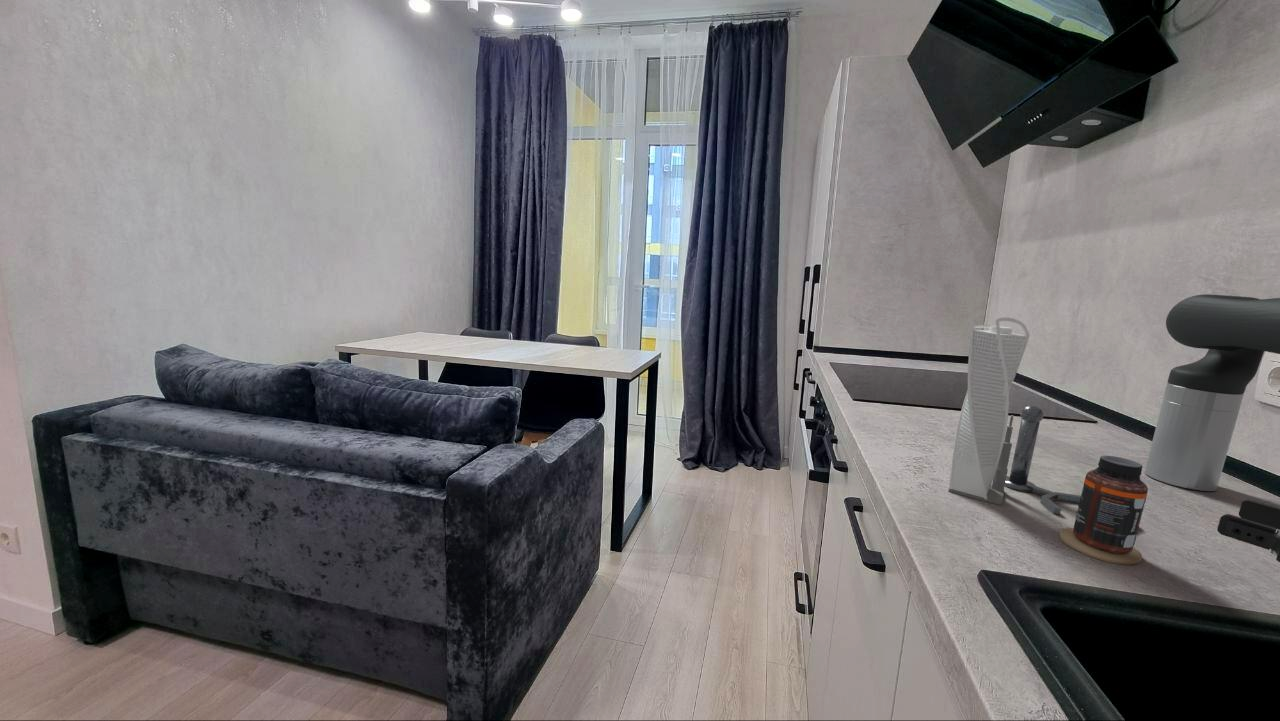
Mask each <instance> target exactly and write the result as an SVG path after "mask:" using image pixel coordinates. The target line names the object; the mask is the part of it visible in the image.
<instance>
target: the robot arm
mask: <svg viewBox="0 0 1280 721" xmlns="http://www.w3.org/2000/svg"><path fill="white" fill-rule="evenodd" d="M1165 325H1166V326H1165V328H1166V329H1167V333H1168V334H1169V336H1170V337H1171V338H1173V340H1174V341H1175V342H1177V343H1179V344H1180V345H1183V346H1185V347H1189V348H1194V349H1203V350H1204V349H1205V350H1208V351H1207V352H1206V354H1205V355H1204V356H1203V357H1202V358H1199V359H1198V360H1195V361H1194V362H1191V363H1187V364H1183V365H1182V364H1181V365H1178V366H1175V367H1173V368H1172V369H1171V370H1170V372H1169V375H1168V377H1167V383H1166V386H1165V391H1164V394H1163V399H1162V401H1161V406H1160V410H1159V414H1158V418H1157V422H1156V426H1155V430H1154V434H1153V438H1152V442H1151V445H1150V448H1149V449H1150V450H1149V453H1148V455H1147V456H1148V457H1147V460H1146V464H1145V469H1144V474H1145V475H1147V476H1148V477H1150V478H1152V479H1155V480H1156V481H1159V482H1163V483H1165V484H1169V485H1172V486H1176V487H1180V488H1184V489H1188V490H1189V489H1190V490H1194V491H1202V492H1215V491H1217V489H1218V487H1219V482H1220V479H1221V476H1222V472H1223V469H1224V466H1225V462H1226V459H1227V455H1228V452H1229V448H1230V446H1231V442H1232V438H1233V434H1234V430H1235V427H1236V424H1237V420H1238V416H1239V413H1240V409H1241V405H1242V403H1243V402H1242V401H1243V399H1244V395H1245V392H1246V389H1247V386H1248V385H1249V384H1250V383H1251V381H1252V380H1254V378H1255V376H1256V374H1257V373H1258V370H1259V367H1260V365H1261V361H1262V359H1263V357H1264V354H1265V352H1266V353H1271V354H1278V355H1280V297H1273V298H1262V299H1260V298H1258V297H1257V298H1256V297H1249V296H1239V295H1223V294H1222V295H1221V294H1209V293H1208V294H1197V295H1192V296H1188V297H1186V298H1184V299H1182V300H1180V301H1179V302H1178V303H1176V304H1175V305H1174V306H1173V307H1172V308H1171V309H1170V311H1169V312H1168V314H1167V316H1166V320H1165ZM1217 525H1218V526H1217V533H1219V535H1222V536H1225V537H1228V538H1231V539H1234V540H1237V541H1240V542H1243V543H1246V544H1249V545H1252V546H1255V547H1259V548H1262V549H1265V550H1269V551H1270V553H1271V554H1272V555H1273V556H1276V558H1275V560H1276V561H1277V562H1278V563H1280V507H1277V506H1274V505H1270V504H1267V503H1263V502H1260V501H1256V500H1253V499H1245V500H1243V501H1242V502H1241V504H1240V507H1239V511H1238V516H1237V515H1233V514H1230V513H1225V514H1223V515H1221V517H1220V518H1219V522H1218V524H1217Z"/></svg>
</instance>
